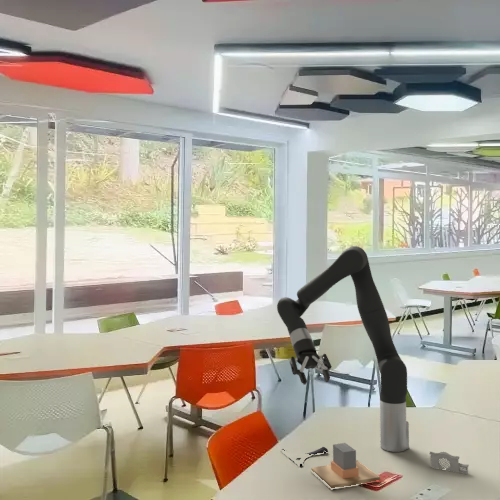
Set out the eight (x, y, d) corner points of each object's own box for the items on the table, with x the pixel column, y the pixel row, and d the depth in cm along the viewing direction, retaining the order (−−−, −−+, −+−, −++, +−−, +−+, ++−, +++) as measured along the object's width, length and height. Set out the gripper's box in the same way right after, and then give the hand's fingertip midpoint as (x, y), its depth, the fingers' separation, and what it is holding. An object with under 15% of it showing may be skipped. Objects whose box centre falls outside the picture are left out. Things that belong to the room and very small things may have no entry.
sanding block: (346, 466, 181) (346, 442, 181) (358, 475, 174) (358, 450, 174) (330, 468, 180) (330, 444, 180) (342, 478, 172) (342, 453, 172)
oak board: (357, 464, 186) (357, 460, 186) (380, 482, 173) (380, 476, 173) (311, 472, 181) (311, 467, 181) (331, 490, 167) (331, 485, 167)
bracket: (337, 461, 191) (337, 453, 191) (299, 468, 185) (299, 460, 185) (317, 447, 204) (317, 440, 204) (280, 454, 199) (280, 446, 199)
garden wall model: (468, 473, 179) (468, 455, 178) (468, 475, 177) (467, 457, 177) (430, 466, 184) (430, 448, 184) (429, 468, 183) (429, 450, 183)
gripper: (287, 339, 197) (301, 378, 187) (323, 336, 202) (338, 374, 191) (282, 351, 203) (294, 390, 192) (317, 348, 207) (331, 386, 196)
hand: (316, 382), depth 192 cm, fingers open, 8 cm apart
